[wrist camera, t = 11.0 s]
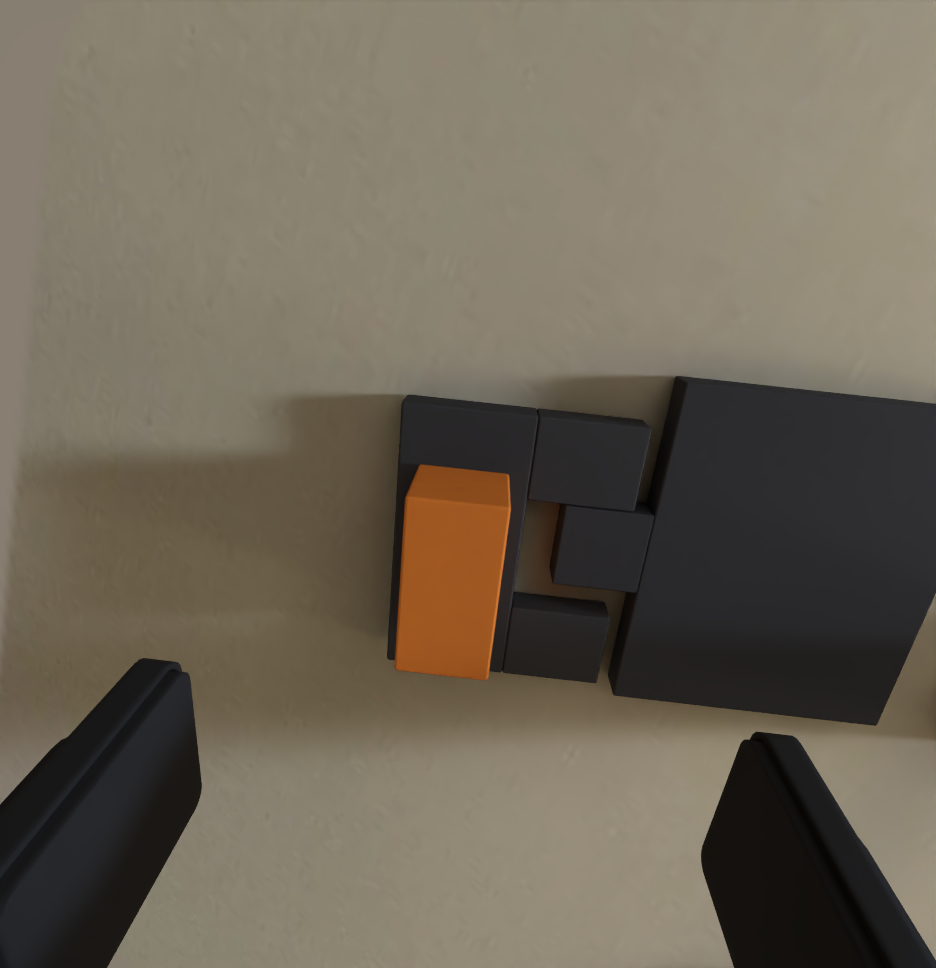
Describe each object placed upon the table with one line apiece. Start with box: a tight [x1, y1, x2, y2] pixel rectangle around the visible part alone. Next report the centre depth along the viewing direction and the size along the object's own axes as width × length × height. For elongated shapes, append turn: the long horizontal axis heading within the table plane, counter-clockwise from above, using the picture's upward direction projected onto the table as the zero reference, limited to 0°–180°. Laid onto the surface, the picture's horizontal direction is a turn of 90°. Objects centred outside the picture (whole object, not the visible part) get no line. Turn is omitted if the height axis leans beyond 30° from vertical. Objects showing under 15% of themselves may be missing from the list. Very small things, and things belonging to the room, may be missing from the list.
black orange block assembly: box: [387, 395, 652, 683], centre depth 19 cm, size 10×8×4 cm
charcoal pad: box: [550, 376, 936, 726], centre depth 20 cm, size 12×13×1 cm
